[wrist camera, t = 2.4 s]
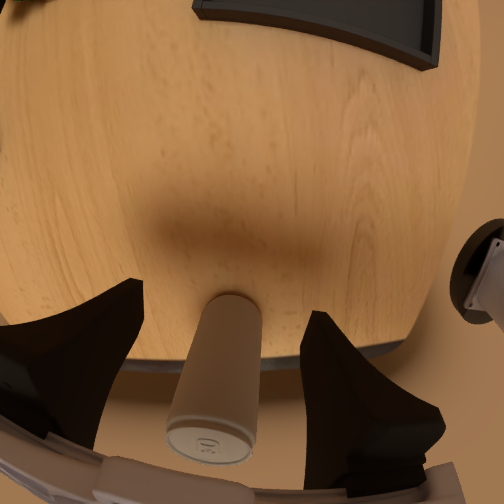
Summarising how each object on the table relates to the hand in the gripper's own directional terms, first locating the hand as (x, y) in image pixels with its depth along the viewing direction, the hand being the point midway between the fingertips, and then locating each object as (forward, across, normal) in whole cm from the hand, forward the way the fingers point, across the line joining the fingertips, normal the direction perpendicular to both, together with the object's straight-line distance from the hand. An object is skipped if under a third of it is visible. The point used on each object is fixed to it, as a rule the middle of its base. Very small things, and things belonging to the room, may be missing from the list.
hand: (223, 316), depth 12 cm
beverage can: (+10, 0, +7) cm, 12 cm away
